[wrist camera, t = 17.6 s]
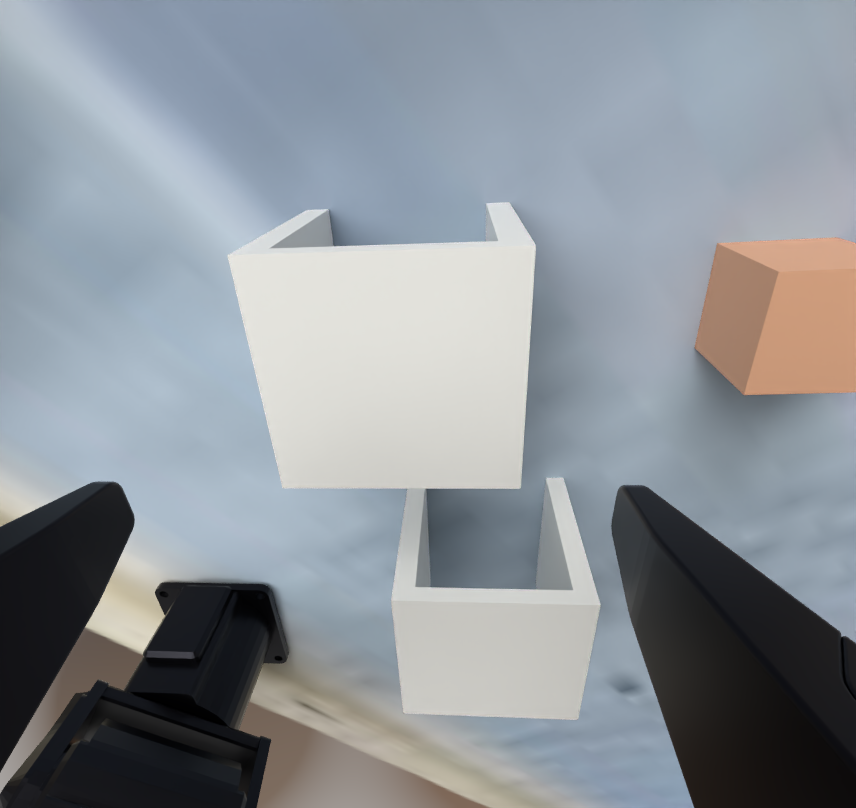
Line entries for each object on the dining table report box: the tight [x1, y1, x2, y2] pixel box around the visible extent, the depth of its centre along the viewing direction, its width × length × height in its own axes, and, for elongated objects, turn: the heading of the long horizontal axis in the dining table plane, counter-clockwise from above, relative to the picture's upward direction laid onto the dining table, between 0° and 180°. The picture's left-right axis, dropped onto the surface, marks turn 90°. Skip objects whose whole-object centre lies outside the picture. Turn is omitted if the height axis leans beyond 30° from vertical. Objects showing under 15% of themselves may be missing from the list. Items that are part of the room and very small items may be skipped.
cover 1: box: [228, 203, 536, 489], centre depth 16 cm, size 7×7×7 cm
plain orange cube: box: [695, 238, 856, 395], centre depth 17 cm, size 4×4×4 cm
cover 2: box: [391, 478, 601, 720], centre depth 22 cm, size 7×7×7 cm
